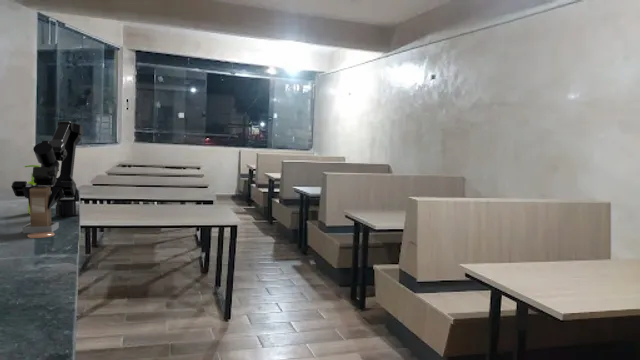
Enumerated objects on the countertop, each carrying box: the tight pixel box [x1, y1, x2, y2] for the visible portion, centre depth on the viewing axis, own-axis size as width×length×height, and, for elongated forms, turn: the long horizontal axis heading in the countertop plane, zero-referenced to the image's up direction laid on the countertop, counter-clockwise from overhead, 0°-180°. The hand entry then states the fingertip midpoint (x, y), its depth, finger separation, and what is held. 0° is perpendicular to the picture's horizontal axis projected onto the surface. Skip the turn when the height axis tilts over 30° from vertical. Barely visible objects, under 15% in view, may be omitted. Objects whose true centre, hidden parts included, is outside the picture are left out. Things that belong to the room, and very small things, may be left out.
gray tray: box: [22, 221, 60, 234], centre depth 162 cm, size 9×9×2 cm
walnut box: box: [29, 187, 52, 227], centre depth 161 cm, size 5×5×14 cm
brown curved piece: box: [27, 231, 55, 239], centre depth 154 cm, size 8×8×1 cm
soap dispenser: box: [23, 164, 41, 215], centre depth 195 cm, size 6×7×20 cm
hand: (39, 208), depth 160 cm, fingers closed on walnut box, 5 cm apart
